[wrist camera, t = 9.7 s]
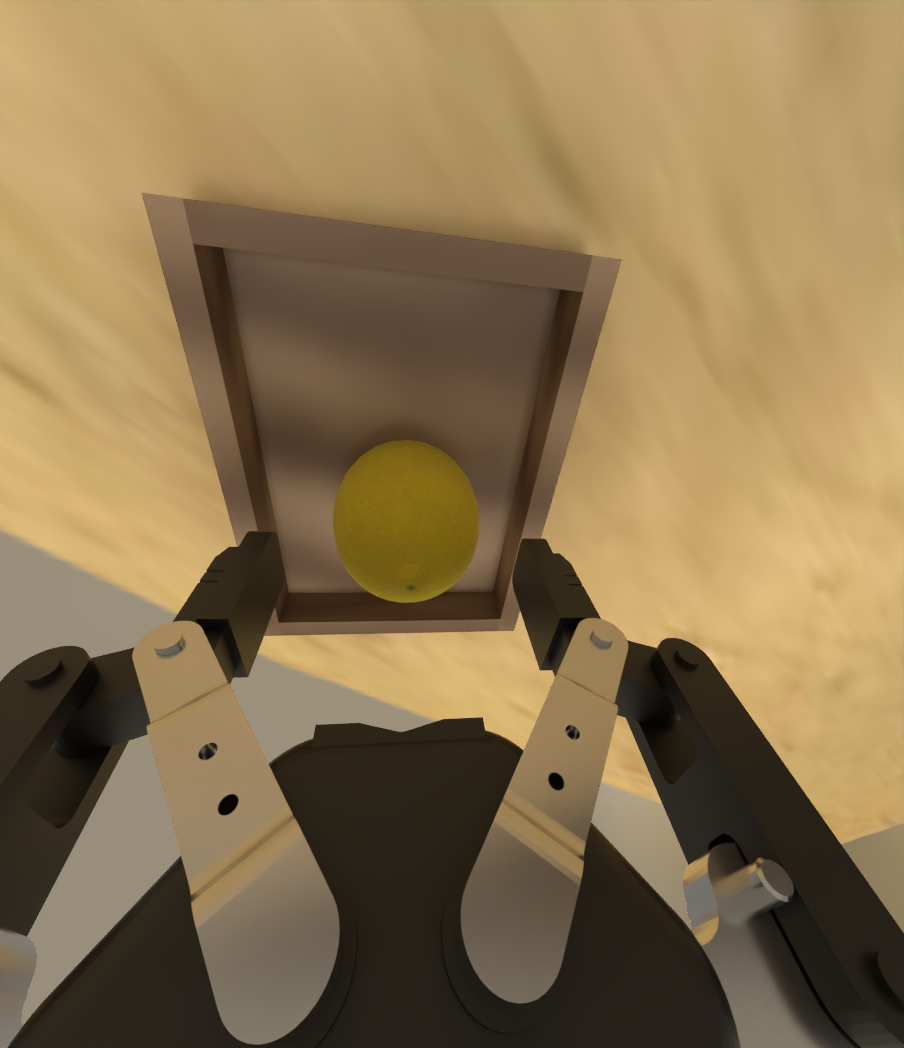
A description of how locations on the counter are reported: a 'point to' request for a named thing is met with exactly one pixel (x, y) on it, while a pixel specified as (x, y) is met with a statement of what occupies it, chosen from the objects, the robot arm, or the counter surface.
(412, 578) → the lemon
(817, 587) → the counter surface
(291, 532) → the tray
